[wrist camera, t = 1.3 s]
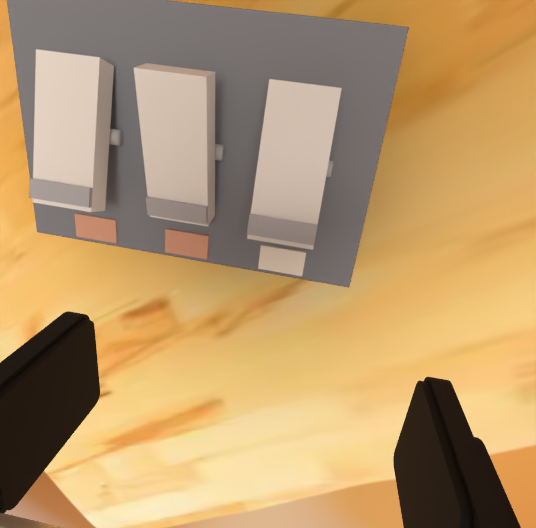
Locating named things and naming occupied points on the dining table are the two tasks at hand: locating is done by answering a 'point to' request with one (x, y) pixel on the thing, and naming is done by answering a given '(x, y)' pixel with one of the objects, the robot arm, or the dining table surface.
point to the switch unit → (220, 119)
